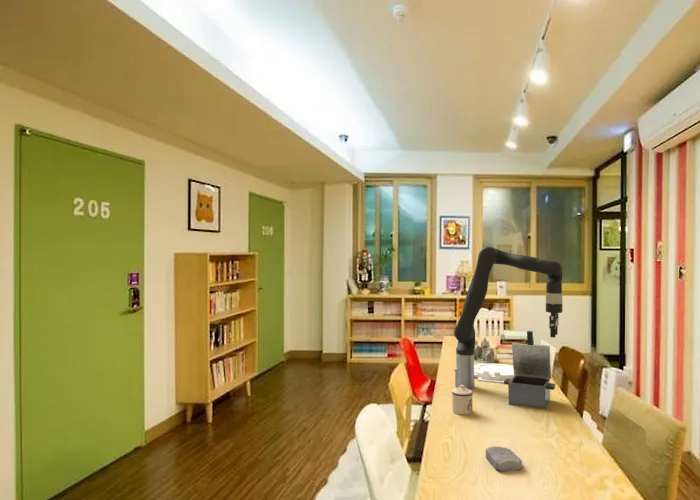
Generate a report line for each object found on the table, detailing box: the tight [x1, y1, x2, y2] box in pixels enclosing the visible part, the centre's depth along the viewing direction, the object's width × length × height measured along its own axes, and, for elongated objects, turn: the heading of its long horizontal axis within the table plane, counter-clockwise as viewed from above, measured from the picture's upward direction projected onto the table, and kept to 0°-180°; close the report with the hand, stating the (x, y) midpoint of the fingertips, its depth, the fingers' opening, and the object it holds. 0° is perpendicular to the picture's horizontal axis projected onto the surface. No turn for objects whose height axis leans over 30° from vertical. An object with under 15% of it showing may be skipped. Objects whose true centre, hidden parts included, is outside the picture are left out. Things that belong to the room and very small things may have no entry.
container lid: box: [474, 363, 519, 385], centre depth 283 cm, size 30×35×6 cm
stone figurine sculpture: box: [474, 337, 496, 364], centre depth 321 cm, size 16×16×15 cm
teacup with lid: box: [451, 385, 474, 416], centre depth 219 cm, size 12×9×12 cm
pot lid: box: [511, 330, 552, 380], centre depth 237 cm, size 17×25×3 cm
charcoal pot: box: [504, 375, 556, 410], centre depth 231 cm, size 22×16×10 cm
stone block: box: [485, 446, 523, 472], centre depth 163 cm, size 12×5×10 cm
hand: (553, 336), depth 238 cm, fingers open, 8 cm apart
